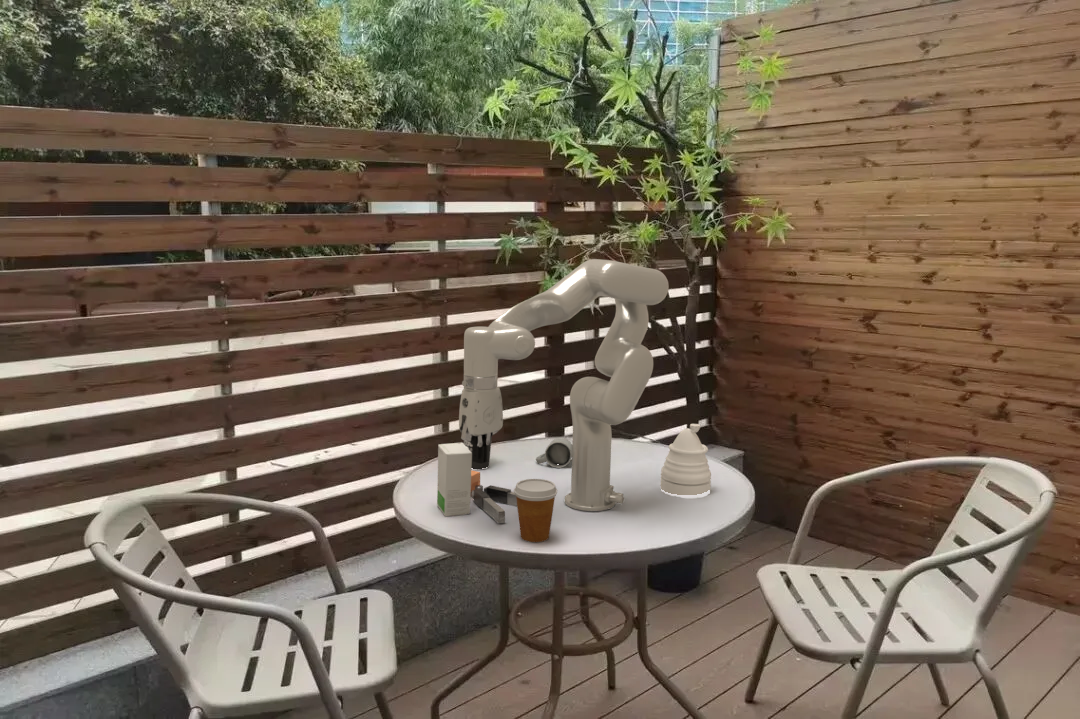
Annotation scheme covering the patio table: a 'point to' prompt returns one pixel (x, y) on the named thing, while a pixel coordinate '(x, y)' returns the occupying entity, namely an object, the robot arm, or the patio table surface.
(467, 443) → the coffee cup
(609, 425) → the robot arm
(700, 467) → the honey pot
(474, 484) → the collar
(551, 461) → the ceramic mug
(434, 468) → the patio table surface
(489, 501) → the tongs arm
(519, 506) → the disposable coffee cup
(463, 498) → the skincare box
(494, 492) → the tongs fixed
